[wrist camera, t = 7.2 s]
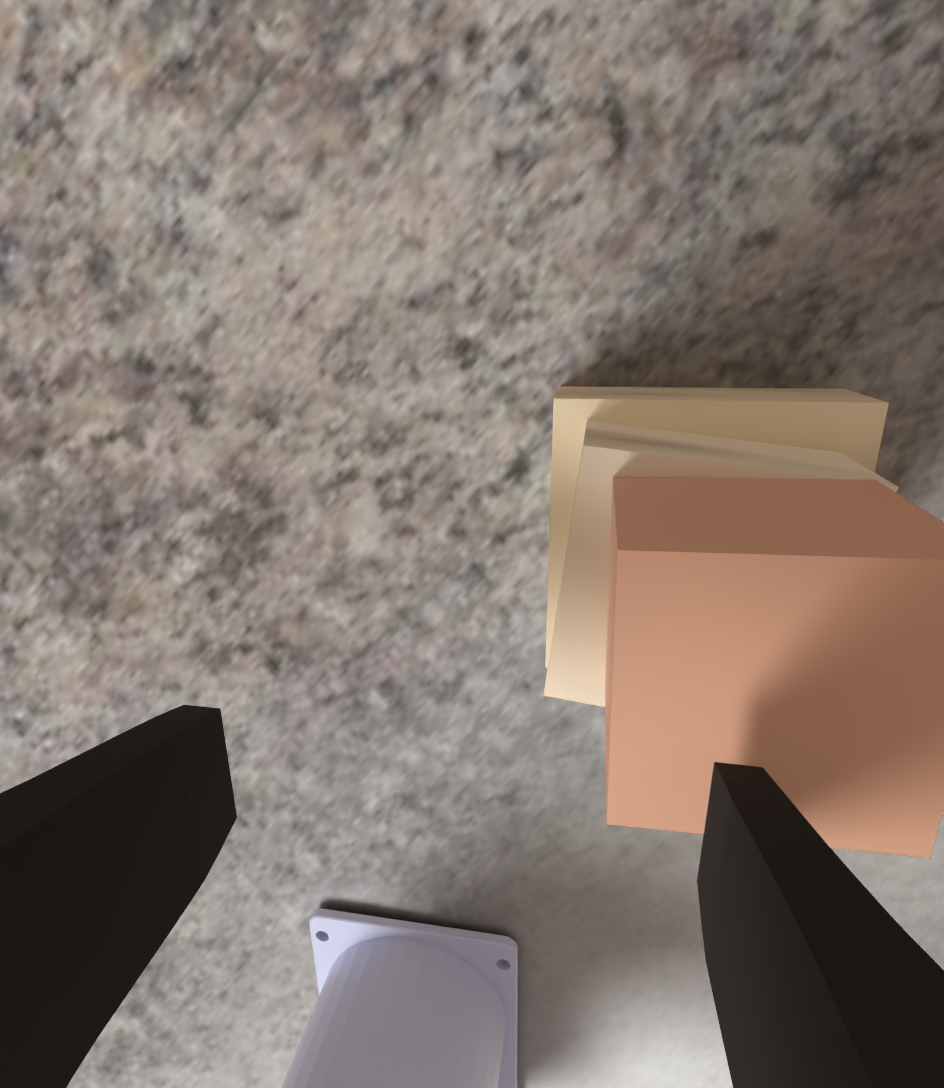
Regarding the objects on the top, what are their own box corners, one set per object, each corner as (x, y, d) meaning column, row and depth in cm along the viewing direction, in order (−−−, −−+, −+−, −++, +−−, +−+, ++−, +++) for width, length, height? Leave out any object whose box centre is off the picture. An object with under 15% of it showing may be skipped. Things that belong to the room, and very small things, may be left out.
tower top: (774, 670, 16) (810, 745, 13) (553, 631, 17) (543, 695, 14) (840, 452, 14) (898, 486, 11) (586, 420, 15) (583, 445, 12)
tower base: (797, 635, 19) (830, 691, 16) (553, 618, 20) (545, 667, 17) (840, 387, 17) (889, 402, 14) (560, 384, 18) (553, 398, 15)
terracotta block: (837, 701, 13) (930, 858, 9) (604, 685, 14) (606, 824, 10) (875, 479, 11) (1005, 561, 8) (613, 476, 12) (617, 550, 9)
